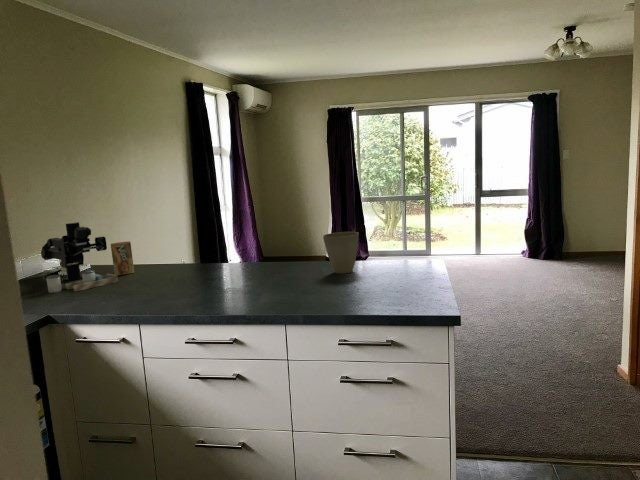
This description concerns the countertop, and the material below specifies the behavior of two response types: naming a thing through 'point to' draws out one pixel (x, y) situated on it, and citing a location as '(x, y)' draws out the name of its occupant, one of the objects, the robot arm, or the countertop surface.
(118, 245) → the candy box
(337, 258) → the plant pot
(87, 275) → the jar in lane
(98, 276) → the follower
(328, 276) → the countertop surface
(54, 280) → the jar
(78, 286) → the lane
